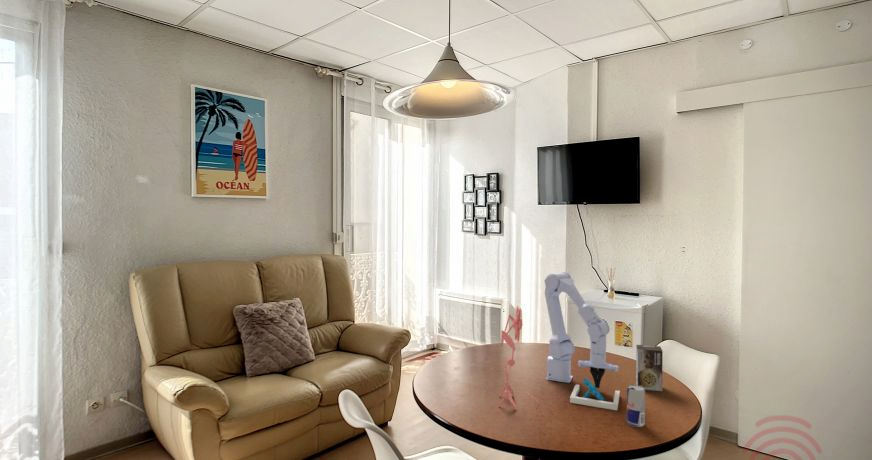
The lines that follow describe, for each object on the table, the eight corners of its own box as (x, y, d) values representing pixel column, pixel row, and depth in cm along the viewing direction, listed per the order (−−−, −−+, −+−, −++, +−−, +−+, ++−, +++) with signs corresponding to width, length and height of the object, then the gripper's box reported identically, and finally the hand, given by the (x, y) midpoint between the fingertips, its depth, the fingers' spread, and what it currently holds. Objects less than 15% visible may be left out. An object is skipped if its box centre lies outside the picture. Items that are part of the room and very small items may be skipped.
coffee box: (660, 386, 183) (661, 346, 182) (662, 391, 176) (663, 350, 176) (635, 383, 186) (636, 343, 185) (636, 388, 179) (637, 348, 179)
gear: (605, 402, 162) (585, 379, 165) (593, 412, 163) (572, 389, 166) (605, 395, 173) (586, 373, 176) (593, 405, 174) (574, 383, 177)
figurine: (495, 416, 154) (499, 313, 153) (497, 388, 179) (500, 300, 178) (542, 421, 152) (546, 316, 150) (537, 391, 177) (540, 302, 176)
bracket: (570, 402, 166) (570, 397, 166) (575, 389, 179) (575, 384, 179) (617, 410, 159) (617, 404, 159) (619, 396, 172) (619, 391, 172)
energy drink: (623, 420, 152) (624, 384, 151) (639, 420, 152) (639, 384, 152) (631, 428, 146) (632, 391, 146) (647, 427, 147) (648, 390, 146)
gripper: (618, 352, 177) (618, 386, 177) (580, 347, 183) (579, 380, 184) (617, 357, 171) (617, 393, 171) (577, 352, 177) (576, 386, 177)
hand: (597, 387), depth 177 cm, fingers closed
